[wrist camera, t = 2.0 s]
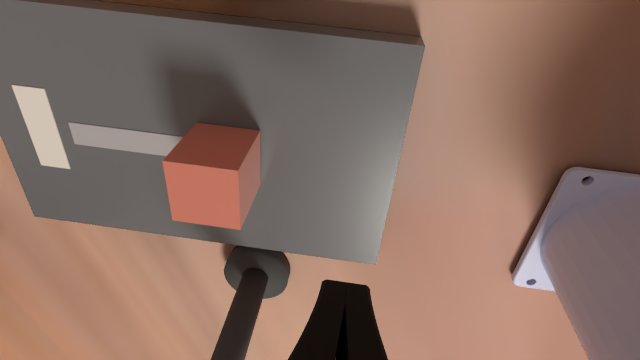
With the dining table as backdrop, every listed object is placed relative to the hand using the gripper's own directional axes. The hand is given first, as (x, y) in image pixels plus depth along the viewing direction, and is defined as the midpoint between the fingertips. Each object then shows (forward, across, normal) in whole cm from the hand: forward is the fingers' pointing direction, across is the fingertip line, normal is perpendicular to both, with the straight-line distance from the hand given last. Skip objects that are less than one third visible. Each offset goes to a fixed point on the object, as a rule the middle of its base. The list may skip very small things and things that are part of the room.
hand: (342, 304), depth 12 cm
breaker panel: (+9, +8, 0) cm, 12 cm away
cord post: (+9, +5, +9) cm, 14 cm away
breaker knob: (+8, +6, 0) cm, 10 cm away
